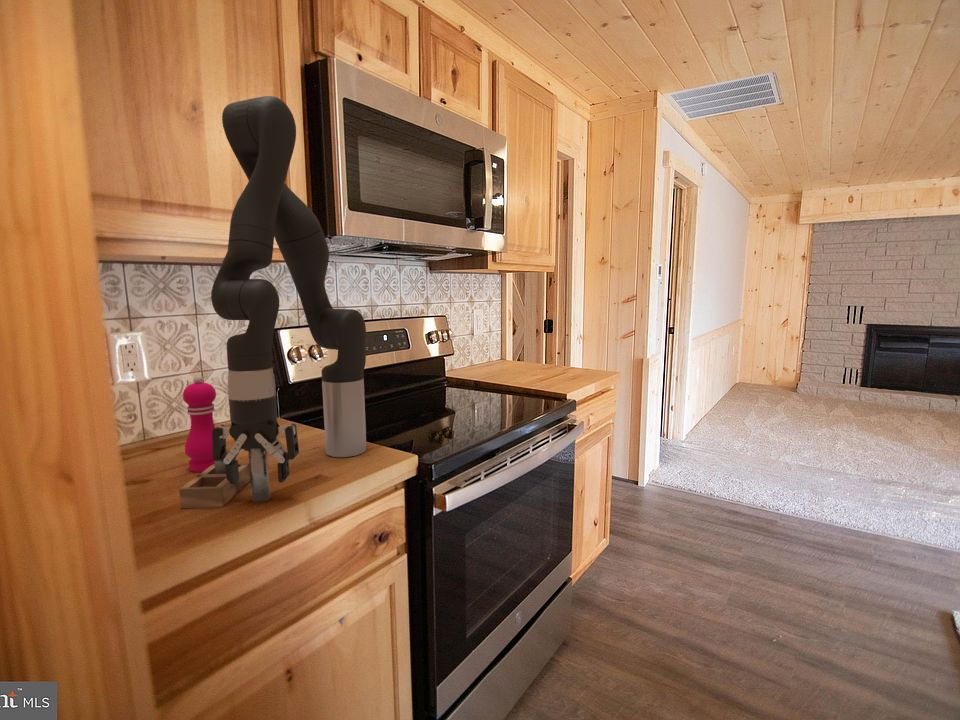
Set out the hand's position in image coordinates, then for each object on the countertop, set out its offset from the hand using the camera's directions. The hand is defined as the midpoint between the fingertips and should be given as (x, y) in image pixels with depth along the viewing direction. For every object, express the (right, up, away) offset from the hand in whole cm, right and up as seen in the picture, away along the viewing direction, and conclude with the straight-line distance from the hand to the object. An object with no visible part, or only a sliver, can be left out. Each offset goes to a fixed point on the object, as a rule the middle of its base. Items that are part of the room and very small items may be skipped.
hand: (258, 481), depth 87 cm
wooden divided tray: (-9, -3, +3) cm, 10 cm away
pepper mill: (-19, -1, +16) cm, 25 cm away
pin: (0, -3, +1) cm, 3 cm away
